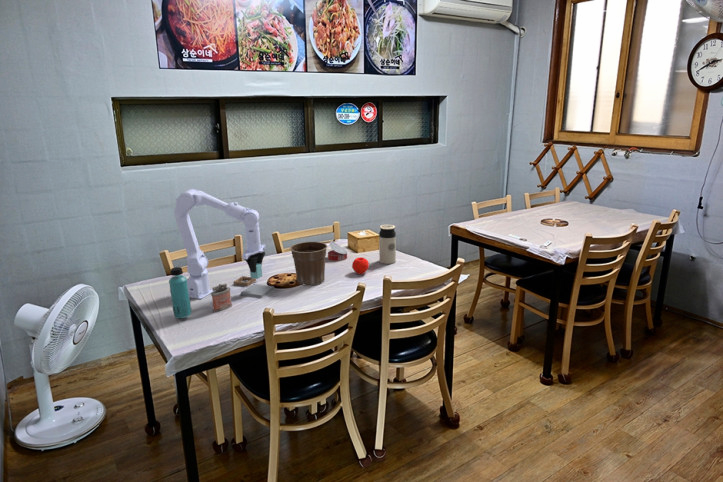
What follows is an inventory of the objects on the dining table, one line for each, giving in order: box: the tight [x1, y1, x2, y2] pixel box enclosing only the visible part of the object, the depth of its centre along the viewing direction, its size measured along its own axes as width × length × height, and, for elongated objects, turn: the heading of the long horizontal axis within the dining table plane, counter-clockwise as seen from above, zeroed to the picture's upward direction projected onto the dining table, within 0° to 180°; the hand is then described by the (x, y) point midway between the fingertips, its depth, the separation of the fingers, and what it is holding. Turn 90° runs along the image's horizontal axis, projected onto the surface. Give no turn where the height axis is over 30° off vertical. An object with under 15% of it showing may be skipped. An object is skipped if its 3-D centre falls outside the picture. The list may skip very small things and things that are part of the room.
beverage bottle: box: [168, 266, 192, 319], centre depth 177 cm, size 6×7×20 cm
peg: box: [249, 263, 263, 280], centre depth 201 cm, size 4×4×6 cm
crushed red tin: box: [210, 282, 233, 313], centre depth 187 cm, size 8×3×10 cm, turn 141°
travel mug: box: [378, 224, 397, 265], centre depth 235 cm, size 8×8×18 cm
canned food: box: [327, 240, 348, 262], centre depth 244 cm, size 11×10×10 cm
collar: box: [233, 275, 257, 287], centre depth 213 cm, size 7×7×2 cm
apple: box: [351, 257, 370, 275], centre depth 221 cm, size 8×8×7 cm
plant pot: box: [289, 241, 328, 287], centre depth 212 cm, size 16×16×16 cm
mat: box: [240, 283, 275, 298], centre depth 204 cm, size 10×10×1 cm
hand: (255, 270), depth 201 cm, fingers closed on peg, 3 cm apart
